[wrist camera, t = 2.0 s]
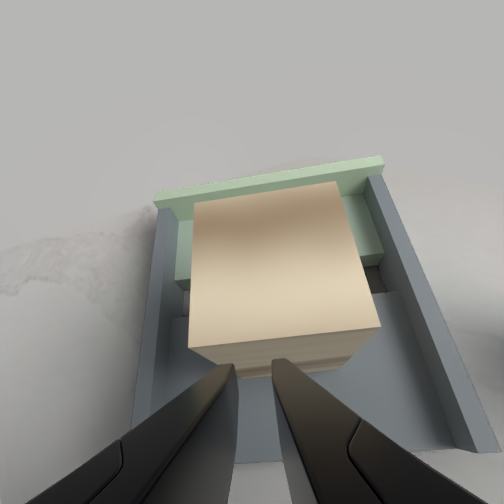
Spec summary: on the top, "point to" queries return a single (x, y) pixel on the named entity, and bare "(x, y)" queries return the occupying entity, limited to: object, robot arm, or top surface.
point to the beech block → (278, 282)
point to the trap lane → (360, 364)
